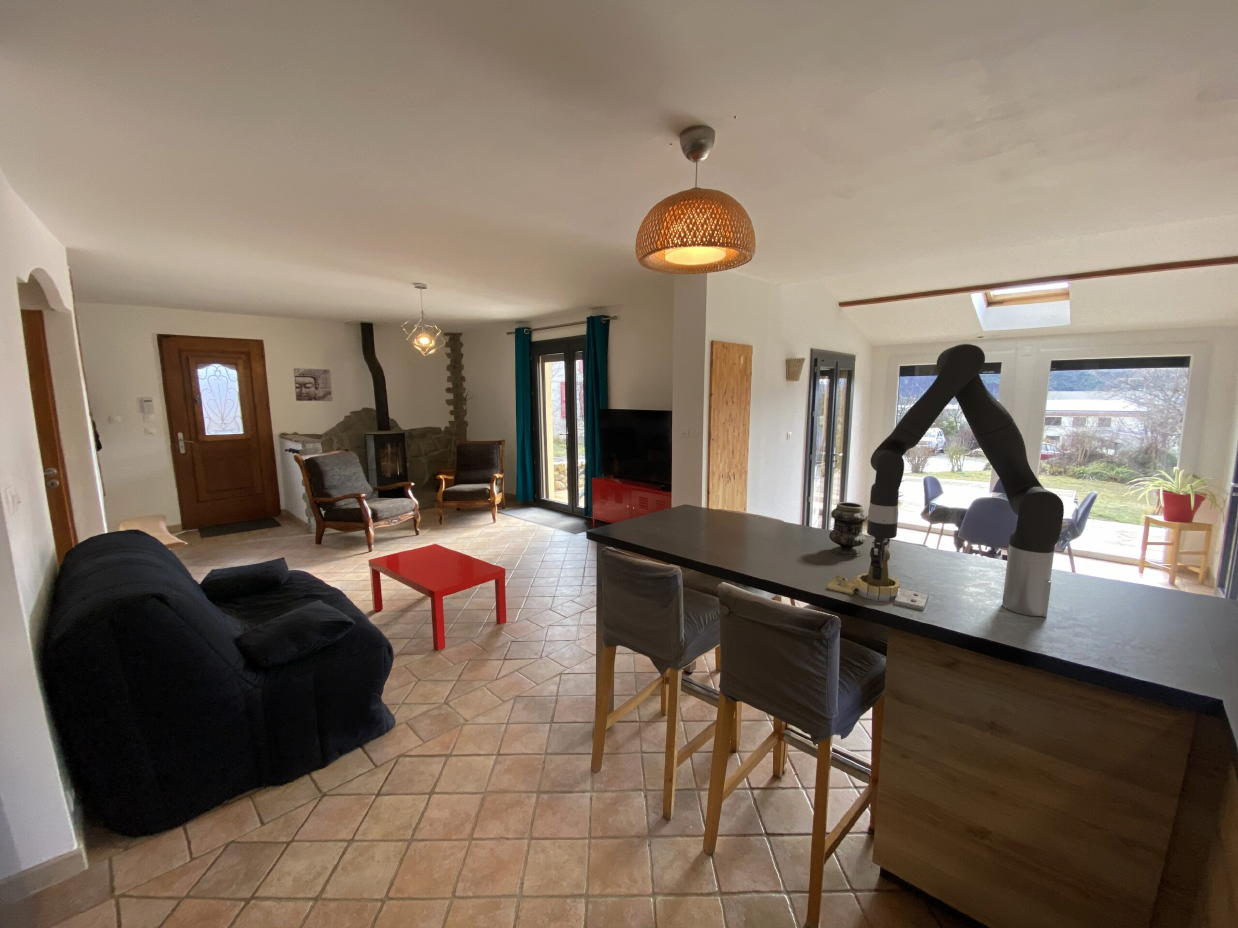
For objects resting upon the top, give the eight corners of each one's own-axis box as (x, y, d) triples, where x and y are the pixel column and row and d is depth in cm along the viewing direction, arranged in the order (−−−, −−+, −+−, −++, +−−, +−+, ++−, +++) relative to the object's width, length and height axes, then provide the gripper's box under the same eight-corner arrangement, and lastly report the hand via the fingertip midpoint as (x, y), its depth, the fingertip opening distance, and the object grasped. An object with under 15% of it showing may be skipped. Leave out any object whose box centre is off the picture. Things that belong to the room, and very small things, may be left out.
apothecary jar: (868, 558, 174) (872, 508, 171) (832, 556, 176) (835, 507, 174) (859, 548, 186) (862, 501, 183) (825, 546, 188) (828, 500, 185)
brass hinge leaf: (901, 592, 145) (902, 579, 144) (894, 604, 136) (895, 590, 136) (837, 578, 156) (837, 566, 155) (827, 589, 147) (828, 576, 147)
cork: (867, 587, 142) (869, 550, 140) (864, 580, 148) (867, 544, 146) (890, 590, 140) (893, 553, 138) (887, 583, 145) (890, 546, 144)
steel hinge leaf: (928, 597, 141) (929, 591, 141) (923, 611, 132) (924, 604, 132) (860, 583, 152) (861, 577, 151) (851, 594, 143) (852, 588, 143)
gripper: (892, 526, 133) (888, 587, 135) (901, 516, 144) (897, 572, 147) (862, 522, 137) (858, 581, 140) (873, 512, 149) (869, 567, 151)
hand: (878, 576), depth 143 cm, fingers open, 4 cm apart
